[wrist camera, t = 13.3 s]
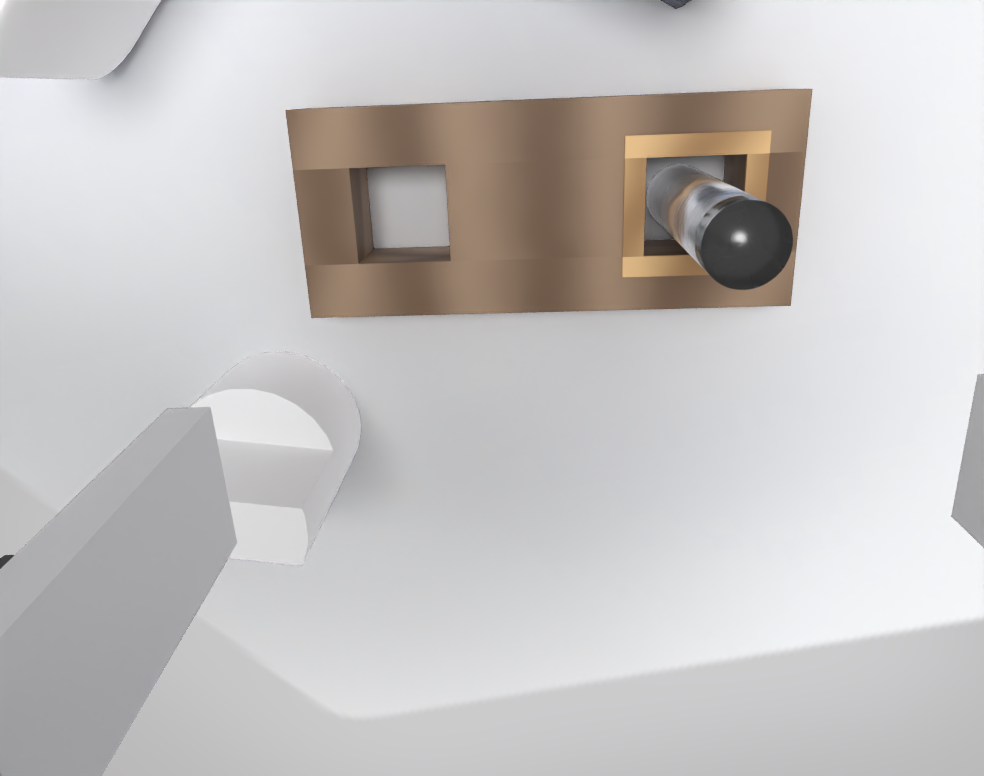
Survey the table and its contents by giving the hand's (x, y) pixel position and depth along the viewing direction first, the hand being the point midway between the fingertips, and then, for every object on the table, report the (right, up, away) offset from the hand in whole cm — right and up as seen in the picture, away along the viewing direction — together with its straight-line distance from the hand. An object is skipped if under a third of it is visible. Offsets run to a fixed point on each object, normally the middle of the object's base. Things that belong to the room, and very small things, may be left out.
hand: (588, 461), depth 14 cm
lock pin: (+8, +11, +27) cm, 30 cm away
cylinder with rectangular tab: (-14, -1, +33) cm, 36 cm away
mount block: (+1, +11, +27) cm, 30 cm away
